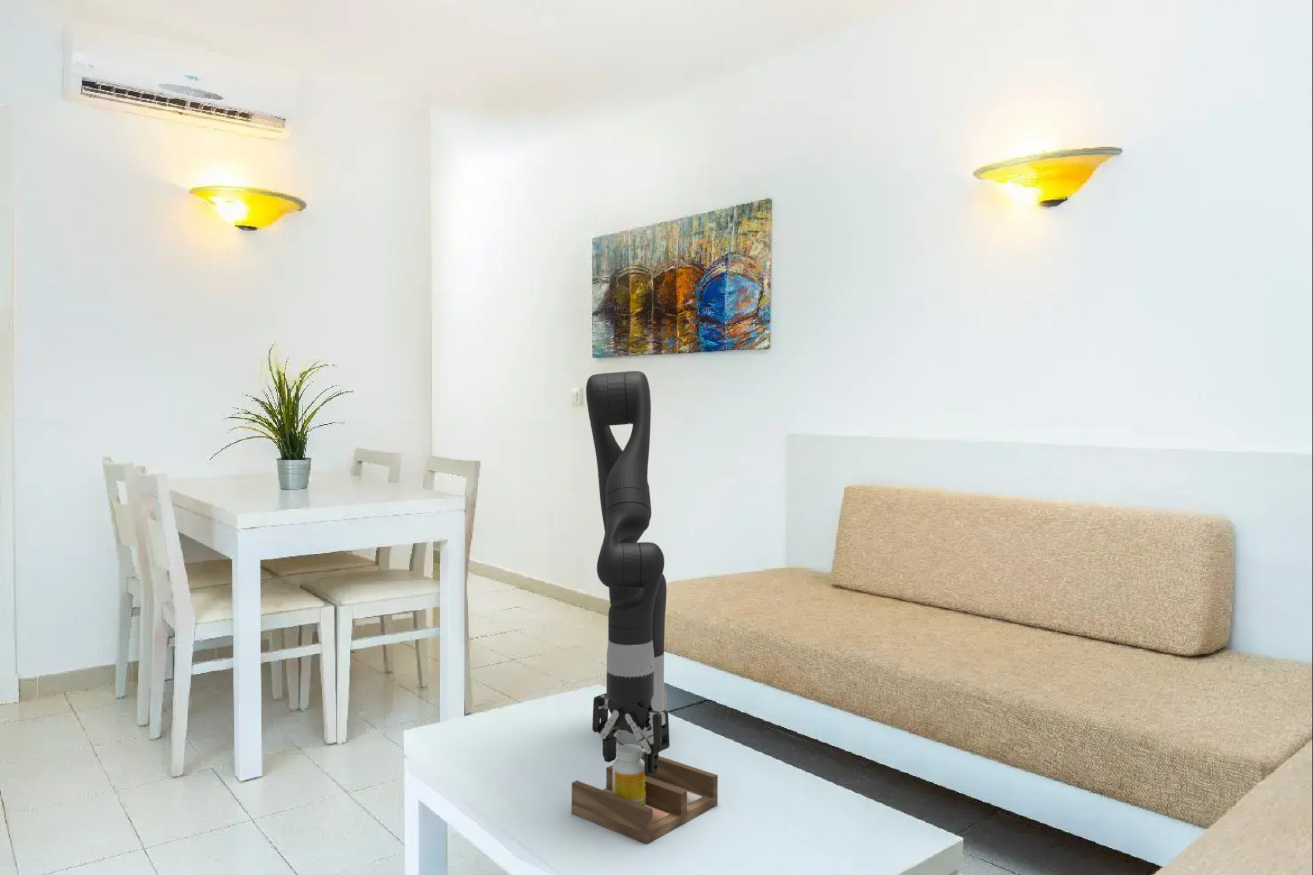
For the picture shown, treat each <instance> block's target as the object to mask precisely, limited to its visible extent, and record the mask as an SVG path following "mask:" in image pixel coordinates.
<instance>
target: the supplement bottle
mask: <svg viewBox="0 0 1313 875" xmlns="http://www.w3.org/2000/svg"><path fill="white" fill-rule="evenodd" d="M642 748H643V747H640V746H638V745H635V744H625V745H624V744H621V745H619V746H617V747H616V759H615V760H613V763H612V765H613V766H612V794H614V795H617V796H620V797H622V798H625V799H628V800H630V801H633V802H636V803H638V804H641V805H644V806H645V805H646V775H645V774H644V761H643V760H642V759H641V757H642V752H643V749H642Z"/></svg>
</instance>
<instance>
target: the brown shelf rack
mask: <svg viewBox="0 0 1313 875" xmlns="http://www.w3.org/2000/svg"><path fill="white" fill-rule="evenodd" d="M645 752H646V751H645V750H644V751H643V750H642V757H641V759H642V760H643V761H644V753H645ZM658 765H659V767H658V771H656V773H655V774H653V775H651V776H646V805H645V806H644V805H641V804H638V803H636V802H633V801H630V800H628V799H625V798H622V797H620V796H617V795H614V794H612V766H613V764H612V765H609V766H607V767H606V771H605V773H606V776H605V777H606V782H605V783H606V784H605V786H606V788H603V789H601V788H598V787H596V786H594V785H593V786H592V785H590V784H587V783H585V782H583V781H579V780H575V781H572V782H571V805H570V806H571V810H570V811H571V812H570V813H571V815H575V816H577V817H580V818H582V819H584V820H587V821H590V822H591V823H594V824H597V825H599V826H602V827H604V828H606V829H609V830H611V831H614V832H616V833H619V834H622V835H624V836H626V837H629V838H631V839H633V840H635V841H637V842H638V841H639V842H641V843H643V844H645V845H648V844H650V843H652V842H654V841H655V840H657V839H658V838H661V837H662V836H664V835H666V834H668V833H670V832H672V831H673V830H675V829H676V828H678V827H680V826H683V825H684V824H686V823H687V822H689V821H691V820H694V819H695V818H697V817H698V816H700V815H702V814H704V813H706V812H707V811H709V810H711V809H713V808H715V807H716V806H717V805H719V804H718V801H719V800H718V798H719V797H718V793H719V792H718V784H719V783H718V781H719V779H718V778H719V777H718V774H715V773H712V772H710V771H706V770H703V769H701V768H696V767H694V766H690V765H688V764H685V763H682V762H679V761H675V760H673V759H669V758H667V757H664V756H660V755H659V764H658Z"/></svg>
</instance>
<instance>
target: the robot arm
mask: <svg viewBox="0 0 1313 875" xmlns="http://www.w3.org/2000/svg"><path fill="white" fill-rule="evenodd" d="M585 386H586V387H585V397H586V405H587V412H588V419H589V423H590V429H591V434H592V435H591V436H592V439H593V445H594V451H595V456H596V465H597V477H598V479H597V480H598V489H599V490H598V491H599V500H600V508H601V509H600V510H601V516H602V521H603V528H604V537H603V540H602V544H601V546H600V550H599V553H598V557H597V562H596V574H597V577H598V580H599V581H600V583H602V584H603V585H604V586H605V587H608V594H609V603H610V606H609V609H608V614H607V616H608V617H607V618H608V619H607V621H608V622H607V624H608V625H607V628H608V629H607V630H608V631H607V635H608V636H607V640H608V641H607V648H606V692H605V693H601V694H599V695H597V696H594V698H593V704H592V726H591V727H592V728H591V729H592V731H593V733H598V734H599V735H600V738H601V739H602V756H603V761H604V762H606V763H611V762H614V761H615V760H616V759H617V756H616V755H617V742H618V743H620V744H621V745H625V744H635V745H638V746H640V747H641V748H643V750H644V751H645V753H644V774H645V775H646V776H651V775H653V774H655V773H656V771H658V767H659V765H658V764H659V756H660V755H659V753H660V752H662V751H664V750H667V749H669V748H670V724H669V711H668V710H667V705H668V704H667V703H668V702H667V701H668V699H667V698H668V696H667V695H668V692H667V690H668V689H667V688H665V633H666V632H665V630H666V629H665V627H666V607H667V606H666V605H667V592H668V589H667V581H666V580H667V579H666V577H665V575H664V573H663V572H664V569H665V554H664V553H663V550H662V549H661V547H660V546H659V545H658V544H656V543H655V542H651V541H649V542H648V541H647V542H646V541H645V542H644V541H643V542H641V541H640V542H638V541H639V540H640V538H641V537H642V536H643V534H644V533H645V531H647V530H648V528H649V526H650V522H651V519H652V504H651V494H650V485H649V482H648V480H649V479H648V471H649V470H648V468H649V458H650V445H651V444H650V443H651V421H652V420H651V419H652V418H651V416H652V405H651V404H652V401H651V390H650V384H649V381H648V377H647V376H646V374H645V373H644V372H643V371H639V370H631V371H630V370H629V371H628V370H627V371H618V372H615V371H614V372H602V373H596V374H592V375H590V376H589V378H588V379H587V381H586V385H585ZM623 425H624V426H625V425H632V428H631V429H632V430H631V433H630V436H629V439H628V441H627V442H626V444H625V446H624V449H622V447H621V446H620V445H619V443H618V442H617V440H616V438H615V436H614V434H613V432H612V429H611V426H623ZM609 712H610V717H609ZM615 735H616V736H615Z"/></svg>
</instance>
